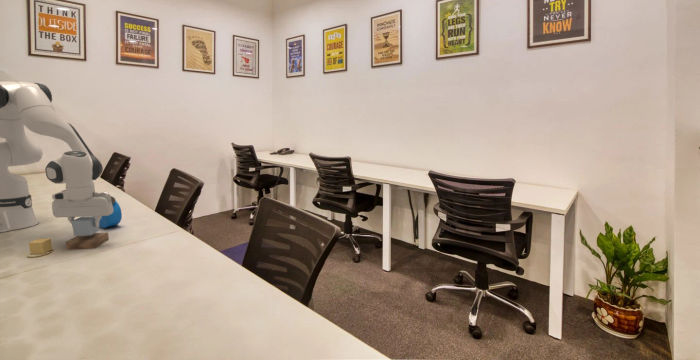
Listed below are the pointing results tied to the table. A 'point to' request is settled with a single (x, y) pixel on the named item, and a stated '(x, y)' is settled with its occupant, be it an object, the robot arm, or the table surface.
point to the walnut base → (87, 241)
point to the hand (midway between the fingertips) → (86, 226)
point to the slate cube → (84, 226)
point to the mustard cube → (40, 246)
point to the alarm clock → (111, 216)
